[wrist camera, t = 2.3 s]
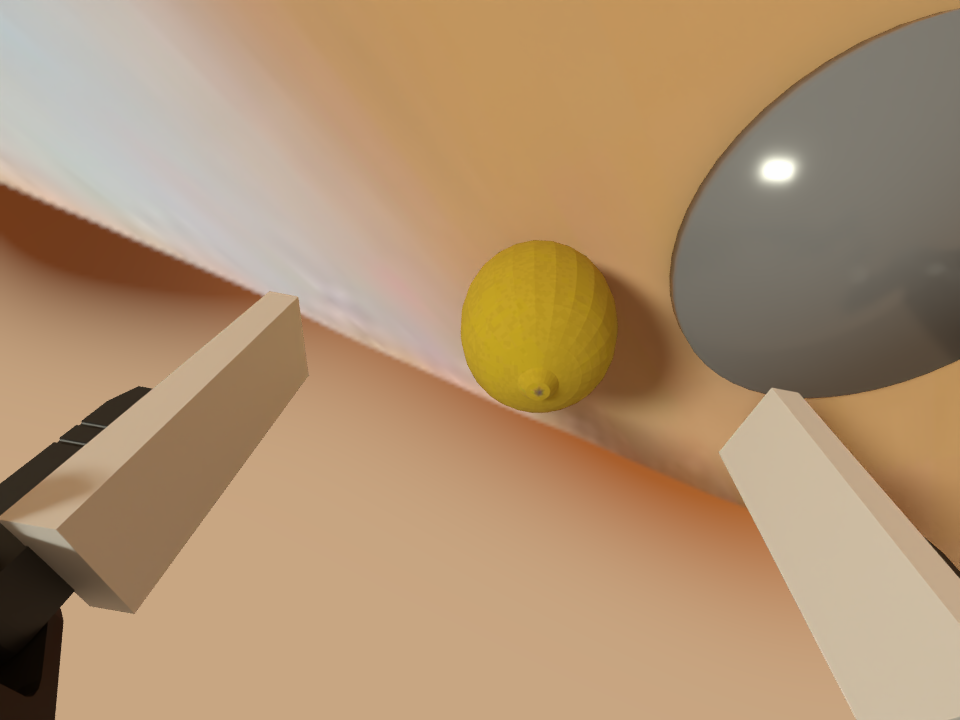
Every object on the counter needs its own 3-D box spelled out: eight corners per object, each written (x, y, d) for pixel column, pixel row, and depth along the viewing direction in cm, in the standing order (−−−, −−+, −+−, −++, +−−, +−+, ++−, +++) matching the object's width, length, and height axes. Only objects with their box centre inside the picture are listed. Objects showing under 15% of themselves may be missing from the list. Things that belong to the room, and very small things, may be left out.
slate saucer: (1284, 56, 11) (1343, 54, 10) (894, 408, 19) (910, 422, 18) (805, -44, 11) (827, -54, 10) (619, 353, 19) (623, 365, 18)
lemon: (596, 328, 19) (630, 459, 12) (482, 332, 19) (457, 457, 13) (603, 208, 15) (655, 299, 9) (467, 220, 16) (424, 311, 10)
